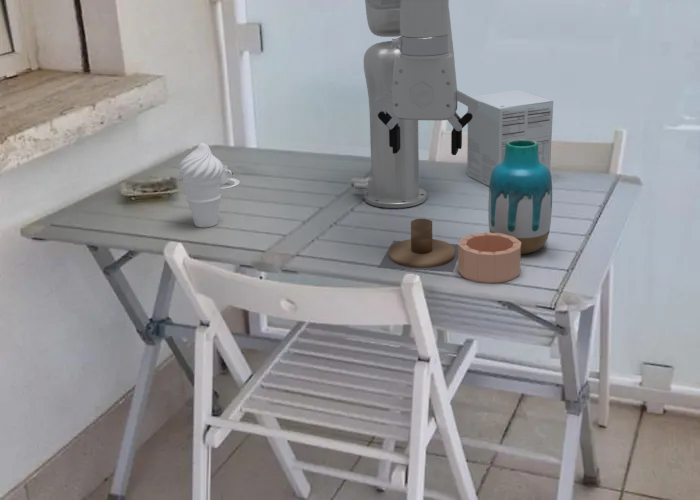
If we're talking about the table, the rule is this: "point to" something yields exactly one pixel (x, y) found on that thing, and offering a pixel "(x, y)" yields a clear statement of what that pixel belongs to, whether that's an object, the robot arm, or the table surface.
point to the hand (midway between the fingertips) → (425, 152)
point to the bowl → (489, 257)
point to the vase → (521, 196)
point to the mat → (447, 268)
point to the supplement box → (506, 129)
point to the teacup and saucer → (225, 178)
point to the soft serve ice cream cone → (202, 185)
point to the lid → (421, 248)
